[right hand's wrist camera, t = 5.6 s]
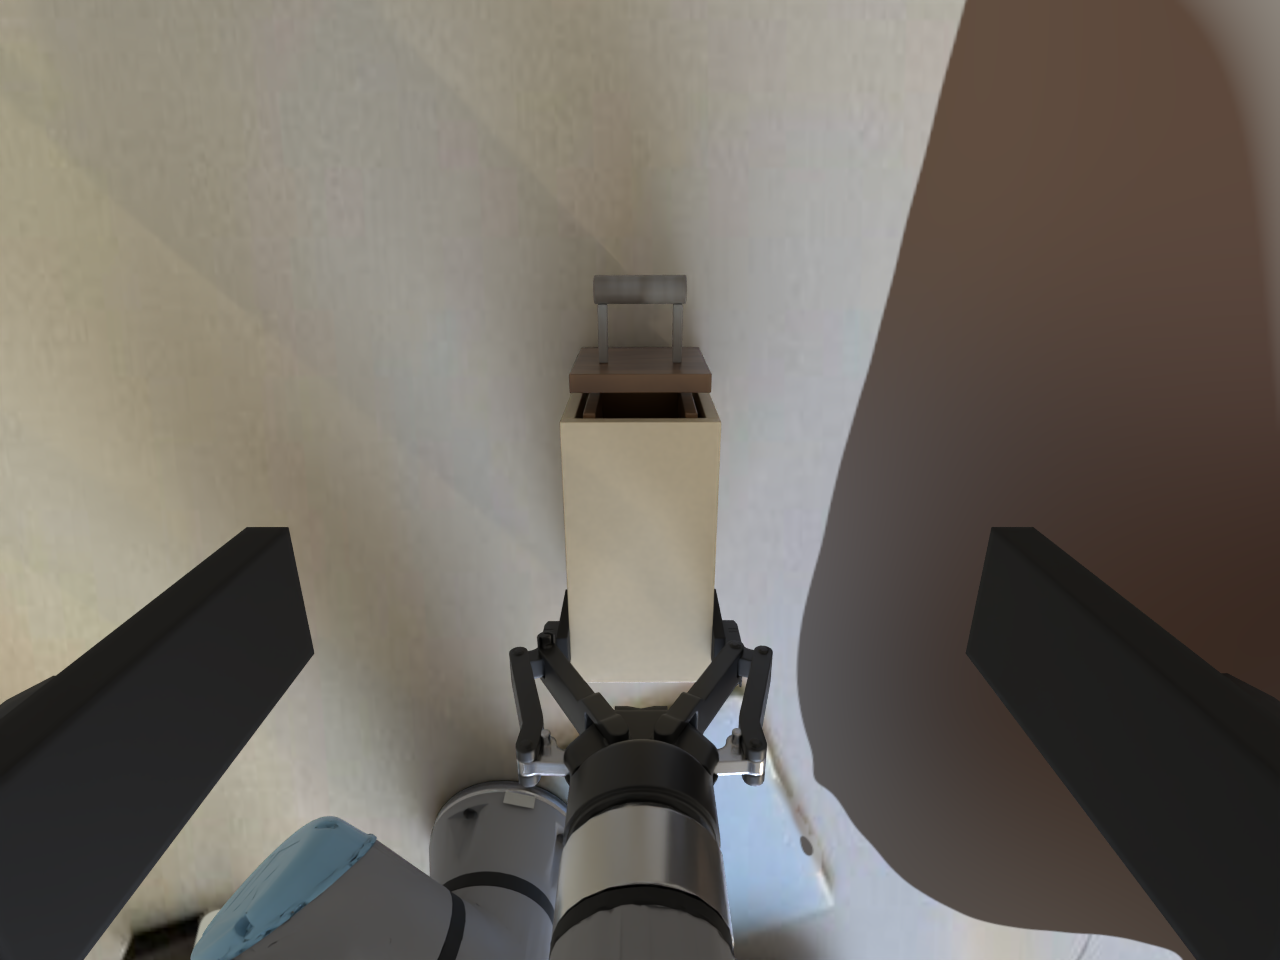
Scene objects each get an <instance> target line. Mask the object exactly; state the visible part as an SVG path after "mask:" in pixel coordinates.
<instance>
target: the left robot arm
mask: <svg viewBox="0 0 1280 960" xmlns="http://www.w3.org/2000/svg"><path fill="white" fill-rule="evenodd" d="M537 643H538V648H536V649H534V650H531V651H527V649H526V648H524V647H516V648H513V649H511V651H510V652H509V657H510V668H511V680H512V687H513V693H514V698H515V704H516V709H517V714H518V720H519V725H520V733H519V736H518V739H517V742H516V757H517V769H518V780H519V782H515V781H492V782H485V783H481V784H477V785H474V786H471V787H469V788H466V789H464V790H462V791H461V792H459V793H457V794H456V795H454V796H453V797H452V798H451V799H449V800H448V801H447V802H446V803H445V805H444V806H443V807H442V809H441V810H440V812H439V814H438V816H437V818H436V821H435V824H434V827H433V830H432V833H431V839H430V846H429V861H430V877H429V876H428V875H426V874H425V873H423V872H422V871H420V870H419V869H418V868H416V867H415V866H413V865H412V864H410V863H409V862H408V861H406V860H405V859H403V858H402V857H400V856H399V855H398V854H396V853H395V852H393V851H392V850H391V849H389V848H388V847H386V846H385V845H383V844H382V843H381V842H379V841H378V840H376V839H377V837H376V836H375V835H373V834H366V833H364V832H362V831H361V830H359V829H357V828H355V827H354V826H352V825H350V824H349V823H347V822H345V821H344V820H342V819H340V818H337V817H333V816H327V817H321V818H318V819H316V820H313V821H311V822H309V823H308V824H306V825H305V826H303V827H302V828H300V829H299V830H298V831H296V832H295V833H294V834H293V835H291V836H290V837H289V838H288V839H287V840H285V841H284V842H283V843H282V844H281V845H280V846H279V847H278V848H277V849H276V850H275V851H274V852H273V853H271V854H270V855H269V856H268V857H267V858H266V859H265V860H264V861H263V862H262V863H261V864H260V865H259V867H258V868H257V869H256V870H255V871H254V872H253V873H252V874H251V875H250V876H249V877H248V878H247V879H246V880H245V882H244V883H243V884H242V885H241V886H240V887H239V888H238V890H237V891H236V892H235V893H234V894H233V895H232V896H231V898H230V899H229V900H228V901H227V902H226V904H225V905H224V906H223V907H222V908H221V910H220V911H219V912H218V913H217V915H216V916H215V917H214V919H213V920H212V921H211V923H210V924H209V925H208V927H207V928H206V930H205V931H204V933H203V936H202V938H201V939H200V940H199V942H198V943H197V944H196V946H195V948H194V950H193V951H192V954H191V960H735V958H734V951H733V947H734V938H733V930H732V923H731V915H730V908H729V900H728V893H727V885H726V878H725V871H724V863H723V856H722V853H721V850H720V833H719V825H718V818H717V810H716V803H715V795H714V787H713V785H714V784H715V782H716V780H717V778H718V775H736V774H742V778H743V780H744V782H745V783H747V784H748V785H751V786H759V785H761V784H762V783H763V782H764V775H765V764H766V751H767V742H766V739H765V736H764V733H763V730H762V726H763V720H764V715H765V709H766V704H767V698H768V692H769V687H770V680H771V667H772V655H773V651H772V649H771V648H769V647H767V646H758V647H756V648H755V649H754V650H751V649H748V648H746V647H744V645H743V643H742V642H741V638H740V634H739V630H738V626H737V624H736V623H735V621H734V620H722V618H721V613H720V608H719V603H718V598H717V593H716V589H714V604H713V626H712V649H711V661H712V662H711V663H710V665H709V666H708V667H707V668H706V670H705V671H704V672H703V674H702V675H701V676H700V677H699V679H698V680H697V681H696V682H695V684H694V685H693V686H692V688H691V689H690V690H689V691H688V693H685V692H683V693H682V694H681V695H680V696H679V697H678V699H677V700H676V701H675V702H674V704H673V705H672V706H671V707H670V709H669V710H667V706H653V707H647V708H642V709H640V708H635V707H629V706H615V710H613V709H612V707H611V706H610V705H609V704H608V702H607V701H606V700H605V699H604V697H603V696H602V695H601V694H600V693H599V692H598V693H594V692H593V690H592V689H591V688H590V687H589V685H588V684H587V683H586V682H585V680H584V679H583V678H582V677H581V675H580V674H579V673H578V672H577V670H576V669H575V668H574V667H573V665H572V664H571V663H570V660H571V653H570V632H569V613H568V591H567V589H566V591H565V596H564V601H563V606H562V611H561V616H560V621H548V622H547V623H546V624H545V626H544V630H543V632H542V633H540V634H539V635H538V636H537ZM742 676H743V677H747V678H748V679H747V684H746V688H745V692H744V697H743V701H742V705H741V710H740V715H739V728H735V729H733V731H732V735H730V736H729V737H728V738H727V739H726V744H725V746H724V747H723V748H720V749H717V748H716V747H715V746H714V744H712V743H711V742H710V741H709V740H708V739H707V738H706V737H705V736H703V733H704V731H705V730H706V728H707V727H708V725H709V724H710V723H711V721H712V720H713V718H714V717H715V715H716V714H717V713H718V711H719V710H720V708H721V707H722V705H723V704H724V702H725V701H726V700H727V698H728V697H729V695H730V694H731V692H732V691H733V689H734V688H735V687H736V686H737V685H738V684H740V685H739V687H741V685H742ZM535 678H540V679H541V680H542V682H543V683H544V684H545V686H546V687H547V689H548V690H549V692H550V693H551V694H552V696H553V697H554V699H555V700H556V702H557V703H558V704H559V706H560V707H561V709H562V710H563V711H564V713H565V714H566V716H567V717H568V719H569V720H570V721H571V723H572V724H573V726H574V727H575V728H576V730H577V731H578V733H579V736H578V737H577V738H576V739H575V740H574V741H573V742H571V743H570V744H569V745H568V747H567V748H566V750H562V749H560V748H559V747H558V746H557V744H556V740H555V738H554V737H552V736H550V731H549V730H547V729H544V723H543V714H542V709H541V705H540V701H539V697H538V693H537V688H536V684H535V680H534V679H535ZM541 775H545V776H565V779H566V781H567V783H568V784H569V794H568V802H567V805H566V804H565V803H564V802H563V801H562V800H561V799H559V798H558V797H557V796H555V795H553V794H552V793H550V792H548V791H546V790H544V789H542V788H539V787H537V786H535V785H536V784H537V783H539V781H540V778H541Z"/></svg>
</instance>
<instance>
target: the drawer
mask: <svg viewBox="0 0 1280 960" xmlns="http://www.w3.org/2000/svg"><path fill="white" fill-rule="evenodd" d="M593 287H594V303H595V304H598V342H599V347H582V348H581V350H580V352H579V354H578V357H577V359H576V361H575V363H574V365H573V367H572V370H571V372H570V374H569V386H570V393H589V395H588V399H587V402H586V406H585V409H584V413H583V419H614V418H698V413H697V410H696V407H695V403H694V400H693V397H692V393H710V392H711V378H712V374H711V372H710V370H709V368H708V366H707V364H706V362H705V360H704V357H703V355H702V353H701V351H700V349H699V347H682V315H683V305H682V304H685V303H686V296H687V278H686V275H595V276H594V284H593ZM607 304H673V344H672V347H608V319H607Z"/></svg>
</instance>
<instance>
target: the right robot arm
mask: <svg viewBox="0 0 1280 960" xmlns="http://www.w3.org/2000/svg"><path fill="white" fill-rule="evenodd" d="M313 654H314V649H313V645H312V640H311V635H310V630H309V625H308V620H307V615H306V610H305V606H304V601H303V596H302V591H301V586H300V581H299V576H298V571H297V567H296V562H295V557H294V552H293V547H292V542H291V537H290V532H289V528H288V527H246V528H245V529H244V530H243V531H241V532H240V533H239V534H237V535H236V536H235V537H234V538H232V539H231V540H230V541H228V542H227V543H226V544H225V545H223V546H222V547H221V548H219V549H218V550H217V551H216V552H214V553H213V554H212V555H210V556H209V557H208V558H207V559H205V560H204V561H203V562H201V563H200V564H199V565H198V566H196V567H195V568H194V569H192V570H191V571H190V572H189V573H187V574H186V575H185V576H184V577H182V578H181V579H180V580H178V581H177V582H176V583H175V584H173V585H172V586H171V587H169V588H168V589H167V590H166V591H164V592H163V593H162V594H160V595H159V596H158V597H157V598H155V599H154V600H153V601H151V602H150V603H149V604H148V605H146V606H145V607H144V608H142V609H141V610H140V611H139V612H137V613H136V614H135V615H133V616H132V617H131V618H130V619H128V620H127V621H126V622H124V623H123V624H122V625H121V626H119V627H118V628H117V629H115V630H114V631H113V632H112V633H110V634H109V635H108V636H106V637H105V638H104V639H103V640H101V641H100V642H99V643H97V644H96V645H95V646H94V647H92V648H91V649H90V650H88V651H87V652H86V653H85V654H83V655H82V656H81V657H79V658H78V659H77V660H76V661H74V662H73V663H72V664H70V665H69V666H68V667H67V668H65V669H64V670H63V671H62V672H60V673H59V674H58V675H56V676H52V677H50V678H48V679H46V680H44V681H42V682H41V683H39V684H37V685H35V686H33V687H31V688H29V689H27V690H25V691H23V692H21V693H19V694H17V695H15V696H14V697H12V698H10V699H8V700H6V701H5V702H4V703H2V704H1V705H0V960H84V958H85V957H86V956H87V954H88V953H89V952H90V950H91V949H92V948H93V947H94V945H95V944H96V943H97V941H98V940H99V939H100V937H101V936H102V935H103V933H104V932H105V931H106V929H107V928H108V927H109V925H110V924H111V923H112V921H113V920H114V919H115V917H116V916H117V915H118V913H119V912H120V911H121V909H122V908H123V907H124V905H125V904H126V903H127V901H128V900H129V899H130V897H131V896H132V895H133V893H134V892H135V891H136V889H137V888H138V887H139V885H140V884H141V883H142V881H143V880H144V879H145V877H146V876H147V875H148V874H149V872H150V871H151V870H152V868H153V867H154V866H155V864H156V863H157V862H158V860H159V859H160V858H161V856H162V855H163V854H164V852H165V851H166V850H167V848H168V847H169V846H170V844H171V843H172V842H173V840H174V839H175V838H176V836H177V835H178V834H179V832H180V831H181V830H182V828H183V827H184V826H185V824H186V823H187V822H188V820H189V819H190V818H191V816H192V815H193V814H194V812H195V811H196V810H197V808H198V807H199V806H200V804H201V803H202V802H203V800H204V799H205V798H206V797H207V795H208V794H209V793H210V791H211V790H212V789H213V787H214V786H215V785H216V783H217V782H218V781H219V779H220V778H221V777H222V775H223V774H224V773H225V771H226V770H227V769H228V767H229V766H230V765H231V763H232V762H233V761H234V759H235V758H236V757H237V755H238V754H239V753H240V751H241V750H242V749H243V747H244V746H245V745H246V743H247V742H248V741H249V739H250V738H251V737H252V735H253V734H254V733H255V731H256V730H257V729H258V727H259V726H260V725H261V723H262V722H263V721H264V720H265V718H266V717H267V716H268V714H269V713H270V712H271V710H272V709H273V708H274V706H275V705H276V704H277V702H278V701H279V700H280V698H281V697H282V696H283V694H284V693H285V692H286V690H287V689H288V688H289V686H290V685H291V684H292V682H293V681H294V680H295V678H296V677H297V676H298V674H299V673H300V672H301V670H302V669H303V668H304V666H305V665H306V664H307V662H308V661H309V660H310V658H311V657H312V656H313ZM966 654H967V656H968V657H969V658H970V660H971V661H972V662H973V664H974V665H975V666H976V668H977V669H978V670H979V672H980V673H981V674H982V676H983V677H984V678H985V680H986V681H987V682H988V684H989V685H990V686H991V688H992V689H993V690H994V692H995V693H996V694H997V696H998V697H999V698H1000V700H1001V701H1002V702H1003V704H1004V705H1005V706H1006V708H1007V709H1008V710H1009V712H1010V713H1011V714H1012V715H1013V717H1014V718H1015V719H1016V721H1017V722H1018V723H1019V725H1020V726H1021V727H1022V729H1023V730H1024V731H1025V733H1026V734H1027V735H1028V737H1029V738H1030V739H1031V741H1032V742H1033V743H1034V745H1035V746H1036V747H1037V749H1038V750H1039V751H1040V753H1041V754H1042V755H1043V757H1044V758H1045V759H1046V761H1047V762H1048V763H1049V765H1050V766H1051V767H1052V769H1053V770H1054V771H1055V773H1056V774H1057V775H1058V777H1059V778H1060V779H1061V781H1062V782H1063V783H1064V785H1065V786H1066V787H1067V789H1068V790H1069V791H1070V792H1071V794H1072V795H1073V796H1074V798H1075V799H1076V800H1077V802H1078V803H1079V804H1080V806H1081V807H1082V808H1083V810H1084V811H1085V812H1086V814H1087V815H1088V816H1089V818H1090V819H1091V820H1092V822H1093V823H1094V824H1095V826H1096V827H1097V828H1098V830H1099V831H1100V832H1101V834H1102V835H1103V836H1104V838H1105V839H1106V840H1107V842H1108V843H1109V844H1110V846H1111V847H1112V848H1113V850H1114V851H1115V852H1116V854H1117V855H1118V856H1119V857H1120V859H1121V860H1122V862H1123V863H1124V864H1125V865H1126V867H1127V868H1128V869H1129V871H1130V872H1131V873H1132V875H1133V876H1134V877H1135V879H1136V880H1137V881H1138V883H1139V884H1140V885H1141V887H1142V888H1143V889H1144V891H1145V892H1146V893H1147V895H1148V896H1149V897H1150V899H1151V900H1152V901H1153V903H1154V904H1155V905H1156V907H1157V908H1158V909H1159V911H1160V912H1161V913H1162V915H1163V916H1164V917H1165V919H1166V920H1167V921H1168V923H1169V924H1170V925H1171V927H1172V928H1173V929H1174V931H1175V932H1176V933H1177V935H1178V936H1179V937H1180V939H1181V940H1182V941H1183V942H1184V944H1185V945H1186V946H1187V948H1188V949H1189V950H1190V952H1191V953H1192V954H1193V956H1194V957H1195V958H1196V960H1280V701H1278V700H1277V699H1276V698H1274V697H1272V696H1270V695H1268V694H1266V693H1265V692H1263V691H1261V690H1259V689H1257V688H1255V687H1253V686H1251V685H1249V684H1247V683H1245V682H1243V681H1241V680H1239V679H1237V678H1235V677H1234V676H1232V675H1230V674H1227V673H1220V672H1219V671H1217V670H1216V669H1215V668H1213V667H1212V666H1211V665H1210V664H1208V663H1207V662H1206V661H1204V660H1203V659H1202V658H1201V657H1199V656H1198V655H1197V654H1195V653H1194V652H1193V651H1192V650H1190V649H1189V648H1188V647H1186V646H1185V645H1184V644H1183V643H1181V642H1180V641H1179V640H1177V639H1176V638H1175V637H1174V636H1172V635H1171V634H1170V633H1168V632H1167V631H1166V630H1164V629H1163V628H1162V627H1161V626H1159V625H1158V624H1157V623H1156V622H1154V621H1153V620H1152V619H1150V618H1149V617H1148V616H1147V615H1145V614H1144V613H1143V612H1141V611H1140V610H1139V609H1138V608H1136V607H1135V606H1134V605H1132V604H1131V603H1130V602H1129V601H1127V600H1126V599H1125V598H1123V597H1122V596H1121V595H1120V594H1118V593H1117V592H1116V591H1114V590H1113V589H1112V588H1111V587H1109V586H1108V585H1107V584H1105V583H1104V582H1103V581H1102V580H1100V579H1099V578H1098V577H1097V576H1095V575H1094V574H1093V573H1091V572H1090V571H1089V570H1088V569H1086V568H1085V567H1084V566H1082V565H1081V564H1080V563H1079V562H1077V561H1076V560H1075V559H1073V558H1072V557H1071V556H1070V555H1068V554H1067V553H1066V552H1064V551H1063V550H1062V549H1061V548H1059V547H1058V546H1057V545H1055V544H1054V543H1053V542H1052V541H1050V540H1049V539H1048V538H1046V537H1045V536H1044V535H1043V534H1041V533H1040V532H1039V531H1037V530H1036V529H1035V528H1034V527H992V528H991V533H990V538H989V542H988V547H987V552H986V557H985V562H984V567H983V572H982V576H981V581H980V586H979V591H978V596H977V601H976V606H975V611H974V616H973V620H972V625H971V630H970V635H969V640H968V645H967V650H966Z"/></svg>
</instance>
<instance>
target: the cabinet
mask: <svg viewBox="0 0 1280 960" xmlns="http://www.w3.org/2000/svg"><path fill="white" fill-rule="evenodd" d="M588 395H589V393H572V394H571V396H570V399H569V401H568V404H567V406H566V409H565V411H564V414H563V416H562V419H561V421H560V440H561V461H562V483H563V505H564V526H565V548H566V569H567V591H568V613H569V632H570V653H571V664H572V665H573V667H574V668H575V669H576V670H577V672H578V673H579V674H580V675H581V677H582V678H583V679H584V680H585V682H696V681H697V680H698V679H699V677H700V676H701V675H702V674H703V672H704V671H705V670H706V668H707V667H708V666H709V665H710V663H711V649H712V626H713V604H714V580H715V557H716V533H717V509H718V486H719V462H720V438H721V421H720V418H719V416H718V414H717V411H716V409H715V406H714V404H713V401H712V399H711V397H710V394H709V393H692V397H693V400H694V403H695V407H696V410H697V413H698V418H614V419H583V413H584V409H585V406H586V402H587V399H588Z"/></svg>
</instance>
